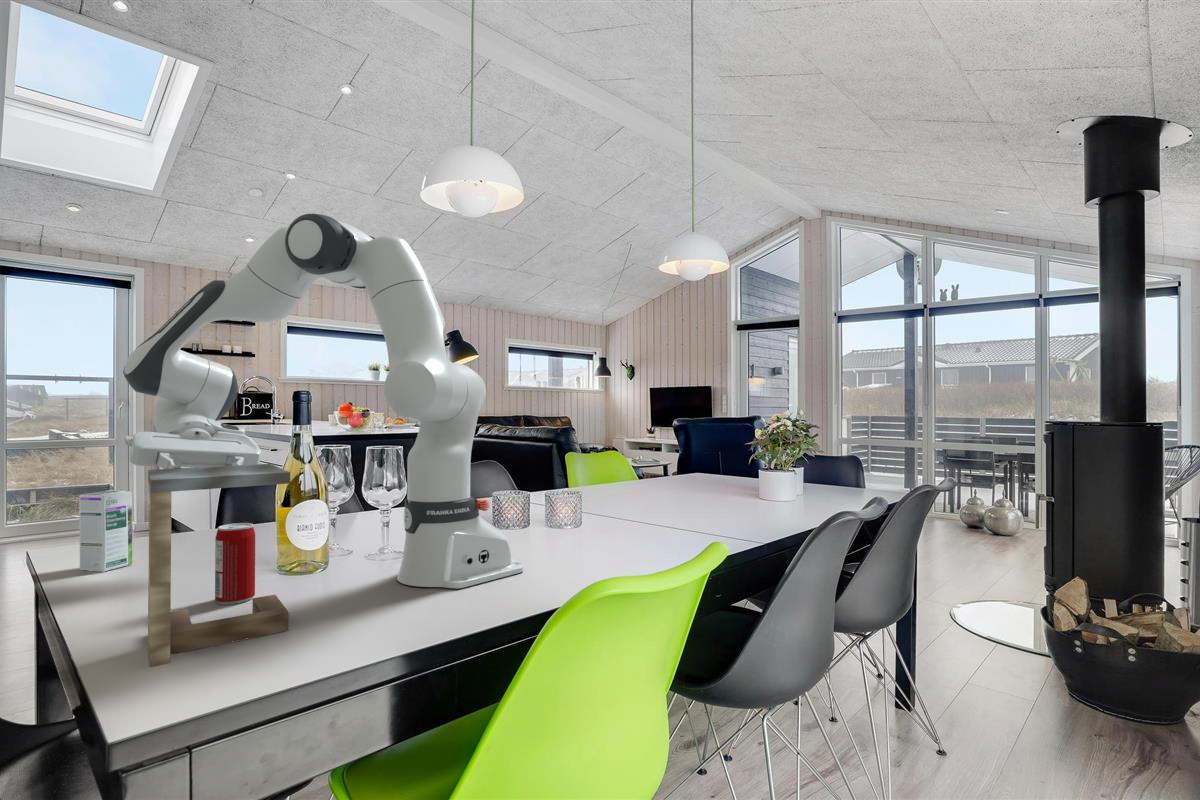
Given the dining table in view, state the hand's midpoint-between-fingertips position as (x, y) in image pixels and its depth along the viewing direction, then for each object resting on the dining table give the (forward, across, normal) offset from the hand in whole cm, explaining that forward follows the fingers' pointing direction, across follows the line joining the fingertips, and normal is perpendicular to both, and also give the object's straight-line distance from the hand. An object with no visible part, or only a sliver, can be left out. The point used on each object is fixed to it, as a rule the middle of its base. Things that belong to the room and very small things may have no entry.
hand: (207, 470), depth 108 cm
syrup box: (-16, -8, +28) cm, 33 cm away
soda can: (+20, +2, +13) cm, 24 cm away
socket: (+34, -3, +8) cm, 35 cm away
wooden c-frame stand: (+34, -4, +8) cm, 35 cm away
